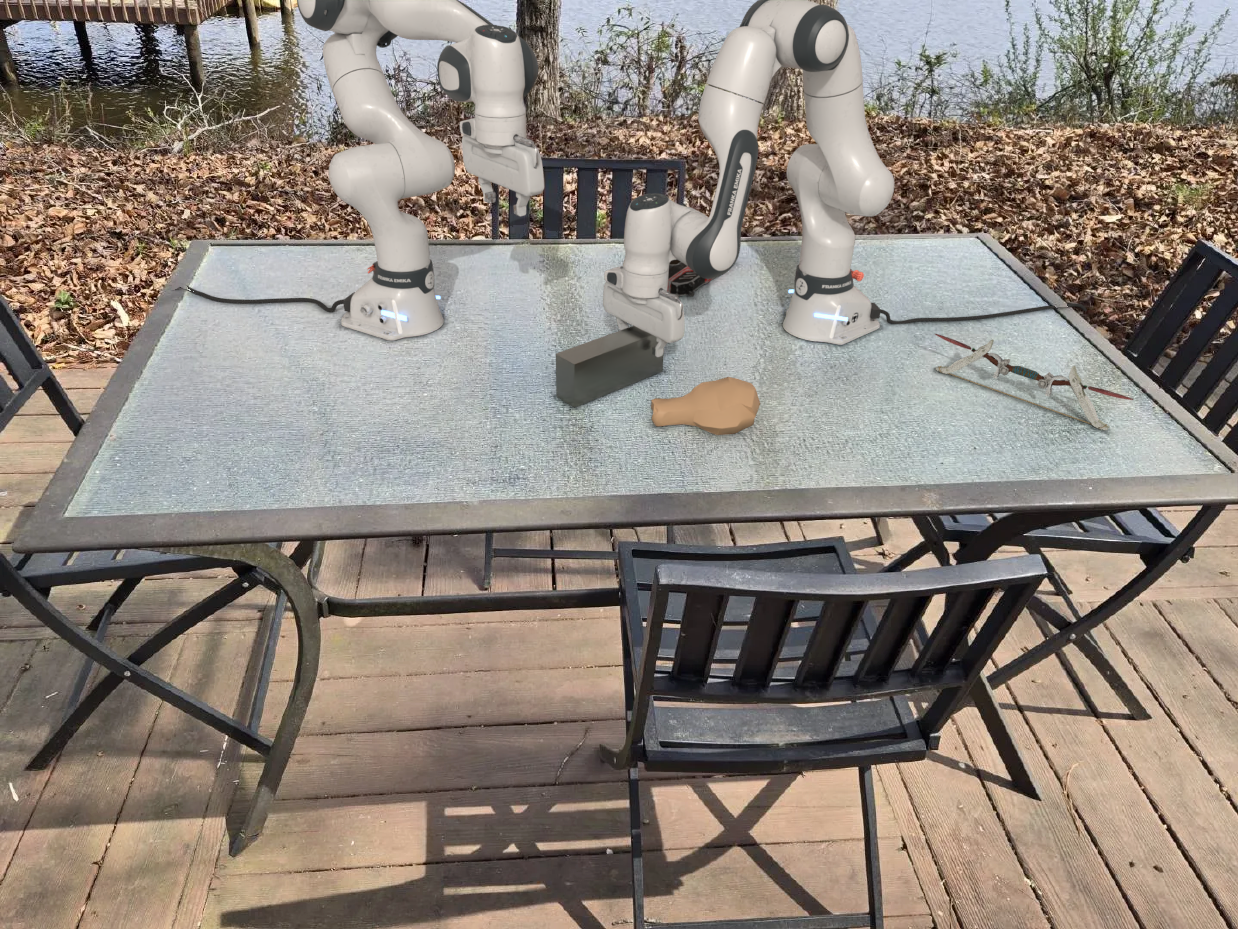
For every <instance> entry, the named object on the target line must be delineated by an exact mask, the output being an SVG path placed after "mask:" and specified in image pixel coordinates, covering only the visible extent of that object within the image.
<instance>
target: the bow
mask: <svg viewBox="0 0 1238 929" xmlns="http://www.w3.org/2000/svg"><path fill="white" fill-rule="evenodd" d="M934 336H937V337H938V338H940V339H942V340H943V341H946V342H948V343H950V344H953V345H955V346H957V347H960V348H963V349H966V350H970V351H971V352H972V354H970V355H966V356H963V357H962V358H960V359H958V360H956V361H954V362H953V363H952V364H951V365H949V366H942V365H938V366H937V367H935V370H936V371H937V372H939V373H941V374H945V375H946V374H947V375H950V376H953V377H956V378H958V379H962V380H964V381H967V382H970V383H973V384H975V385H979V386H981V387H984V388H987V389H990V390H992V391H996V392H998V393H1000V394H1003V395H1007V396H1010V397H1013V398H1015V399H1018V400H1021V401H1023V402H1026V403H1028V404H1032V405H1035V406H1037V407H1040V408H1044V409H1047V410H1049V411H1052V412H1054V413H1057V414H1060V415H1063V416H1066V417H1069V418H1070V419H1071V418H1072V419H1075V420H1077V421H1080V422H1083V423H1086V424H1089V425H1092V426H1093V427H1095V428H1097V429H1098V430H1101V431H1102V430H1103V431H1108V430H1109V429H1110V428H1111V427H1110V425H1108V424H1107V423H1105V422H1104V421H1102V420H1101V419H1099V418H1098V414H1097V410H1096V408H1095V406H1094V404H1093V403H1092V401H1091V398H1089V396H1087V394H1086V392H1085V390H1087V389H1088V390H1090V391H1092V392H1095V393H1098V394H1102V395H1105V396H1107V397H1108V396H1109V397H1112V398H1117V399H1122V400H1127V401H1128V400H1129V401H1134V399H1135V398H1132V397H1130V396H1126V395H1123V394H1120V393H1118V392H1114V391H1112V390H1111V391H1110V390H1107V389H1104V388H1099V387H1096V386H1091V385H1089V386H1088V385H1087V384H1083V382H1082V378H1081V377H1080V375H1079V373H1078V370H1077V367H1076V365H1073V366H1072V367H1071V368H1070V371H1069V374H1068V378H1067V377H1066V376H1064V375H1062V374H1061V375H1060V374H1059V375H1054V374H1053V373H1052V372H1050V371H1049V372H1047V373H1046V374H1045V375H1041V374H1040V373H1039V372H1038V371H1036V370H1034V369H1031V368H1027V367H1025V366H1022V365H1012V364H1010V363H1011V359H1010V358H1008V359H1007V358H1004V359H1003V357H1001V356H1000V355H999V354H997V353H994V352H990V350H992V348H993V346H994V343H995V342H994V341H995V340H994V339H990V340H989V342H987V343H986V344H984V345H981V346H980V347H979V348H977V349H976V348H974V347H971V346H970V345H967V344H965V343H963V342H962V341H959V340H956V339H953V338H950V337H947V336H945V335H943V334H939V333H934ZM982 359H986V360H988V361H989V363H990V364H992V365H994V366H995V367H996V370H995V371H994V372H993V375H992V378H994V379H996V380H997V379H998V378H999V376H1000V375H1002V376H1007V375H1008V374H1009V373H1013V374H1015V375H1018V376H1021V377H1024V378H1027V379H1029V380H1032V381H1037V386H1038V388H1040V389H1046V390H1045V391H1044V392H1045V394H1044V396H1046V397H1051V395H1052V391H1053V387H1054V386H1055V387H1062V386H1063V387H1065V386H1068V387H1069V388H1070V389H1071V391H1072V392H1073V394H1074V395H1075V397H1076V399H1077V401H1078V403H1079V405H1080V408H1081V409H1082V411H1083V413H1084V415H1085V417H1086V418H1087V420H1088V421H1089V422H1088V421H1086V420H1083V419H1081V418H1078V417H1075V416H1071V415H1069V414H1066V413H1063V412H1060V411H1057V410H1055V409H1052V408H1049V407H1046V406H1043V405H1041V404H1037V403H1035V402H1032V401H1029V400H1026V399H1023V398H1020V397H1017V396H1015V395H1013V394H1009V393H1007V392H1005V391H1001V390H998V389H995V388H993V387H990V386H987V385H984V384H981V383H979V382H977V381H976V382H975V381H973V380H970V379H967V378H964V377H961V376H958V375H956V374H953V373H955V372H956V371H958V372H959V371H960V370H962V369H963V368H965V367H967V366H969V365H971V364H973V363H975V362H977V361H980V360H982Z"/></svg>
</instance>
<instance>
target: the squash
mask: <svg viewBox="0 0 1238 929" xmlns="http://www.w3.org/2000/svg"><path fill="white" fill-rule="evenodd" d="M760 406H761V401H760V397H759V395H758V391H757V388H756V387H755V385H753V383H752V382H748V381H745V380H742V379H740V378H736V377H731V376H726V377H722V378H719V379H715V380H710V381H709V380H708V381H703V382H700V383H699V384H698V385H696V386H695V387H693V389H692V390H691V391H689V392H687V393H686V394H685V395H682V396H677V397H669V398H659V397H655V398H652V399H651V402H650V409H651V410H652V415H651V421H652V423H653V424H654V426H655V427H666V426H676V425H686V426H692V427H693V426H694V427H697V428H699V429H701V430H703V431H705V432H708V433H710V434H712V435H715V436H726V435H728V436H729V435H736V434H738V433H739V432H742V431H744V430H746V429H749V428H750V427H752V426H754V425H755V418H756V417H757V414H758V412H759V409H760Z"/></svg>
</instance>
